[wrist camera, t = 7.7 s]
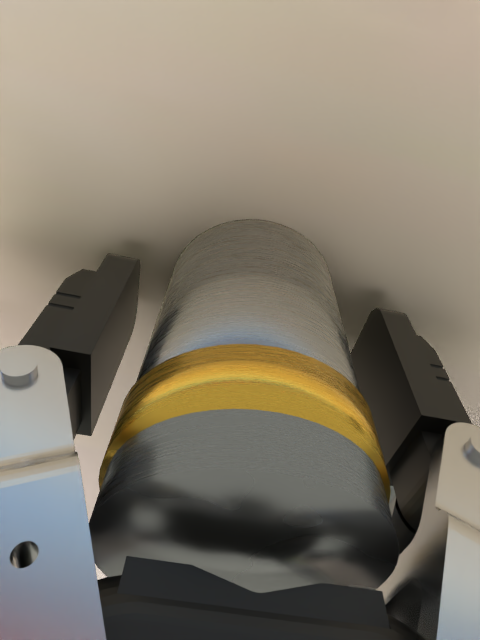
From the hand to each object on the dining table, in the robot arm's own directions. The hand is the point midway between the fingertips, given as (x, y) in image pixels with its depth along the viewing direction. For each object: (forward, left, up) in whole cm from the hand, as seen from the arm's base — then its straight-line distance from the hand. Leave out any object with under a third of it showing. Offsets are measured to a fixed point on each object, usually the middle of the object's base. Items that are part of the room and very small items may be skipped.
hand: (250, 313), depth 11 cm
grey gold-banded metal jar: (0, 0, -1) cm, 1 cm away
